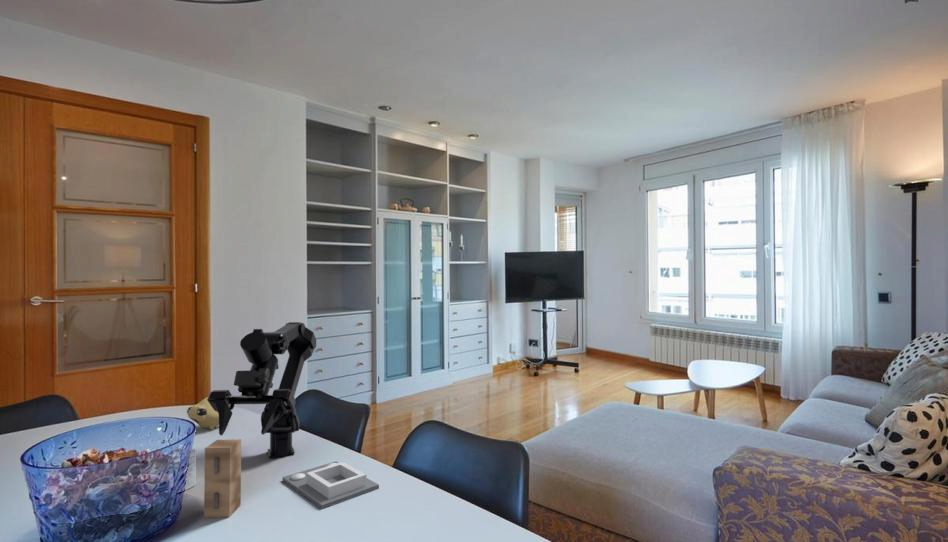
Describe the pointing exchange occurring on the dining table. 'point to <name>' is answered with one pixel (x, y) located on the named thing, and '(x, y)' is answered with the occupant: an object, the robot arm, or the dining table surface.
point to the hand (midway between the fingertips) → (241, 434)
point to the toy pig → (204, 414)
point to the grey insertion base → (330, 483)
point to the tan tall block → (222, 478)
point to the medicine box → (191, 471)
